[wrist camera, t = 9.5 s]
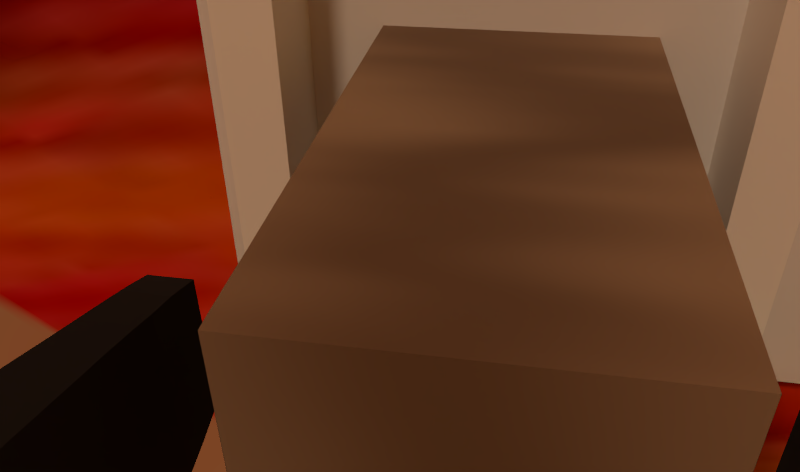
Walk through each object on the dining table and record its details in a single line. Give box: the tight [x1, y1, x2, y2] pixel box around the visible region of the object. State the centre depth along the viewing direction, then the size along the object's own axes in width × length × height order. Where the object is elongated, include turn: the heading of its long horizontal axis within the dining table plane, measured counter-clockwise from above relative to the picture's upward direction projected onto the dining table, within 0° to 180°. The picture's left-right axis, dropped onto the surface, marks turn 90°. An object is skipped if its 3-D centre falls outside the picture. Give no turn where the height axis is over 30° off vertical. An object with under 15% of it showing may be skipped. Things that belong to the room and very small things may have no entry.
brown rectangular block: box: [198, 25, 782, 472], centre depth 10 cm, size 4×4×8 cm
